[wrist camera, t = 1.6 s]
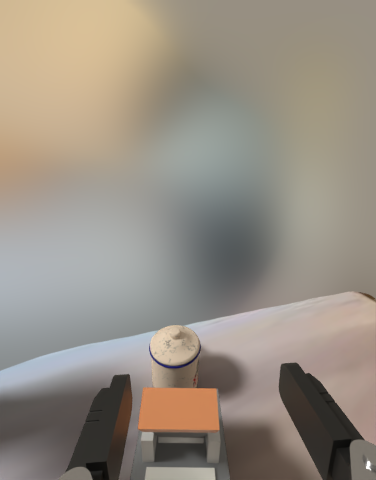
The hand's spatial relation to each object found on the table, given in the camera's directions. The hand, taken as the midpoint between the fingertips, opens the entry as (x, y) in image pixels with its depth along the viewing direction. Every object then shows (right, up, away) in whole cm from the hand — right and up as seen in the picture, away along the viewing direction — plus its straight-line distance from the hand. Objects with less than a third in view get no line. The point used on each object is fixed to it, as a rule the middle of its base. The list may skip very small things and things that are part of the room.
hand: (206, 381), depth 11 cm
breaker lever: (-2, -14, +13) cm, 20 cm away
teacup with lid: (-4, -19, +31) cm, 37 cm away
